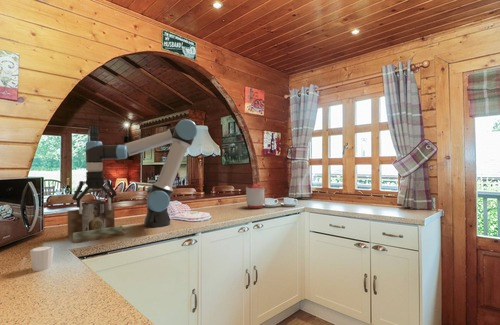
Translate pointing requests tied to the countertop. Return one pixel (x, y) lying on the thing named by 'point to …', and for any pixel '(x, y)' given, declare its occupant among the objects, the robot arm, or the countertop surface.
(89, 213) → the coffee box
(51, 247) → the white cylinder
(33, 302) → the countertop surface
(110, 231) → the wall rack
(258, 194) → the citrus juicer
